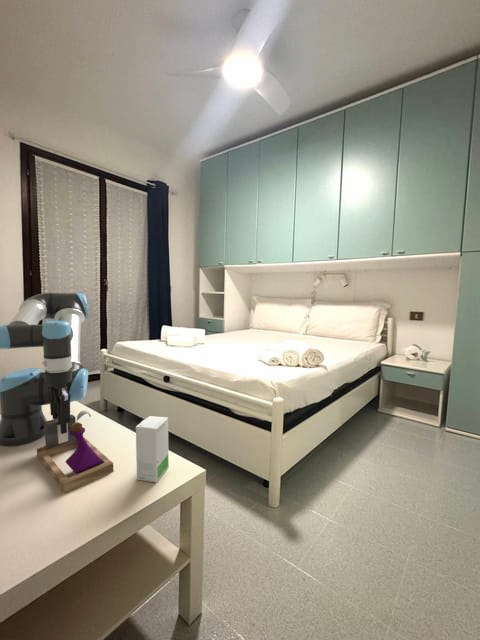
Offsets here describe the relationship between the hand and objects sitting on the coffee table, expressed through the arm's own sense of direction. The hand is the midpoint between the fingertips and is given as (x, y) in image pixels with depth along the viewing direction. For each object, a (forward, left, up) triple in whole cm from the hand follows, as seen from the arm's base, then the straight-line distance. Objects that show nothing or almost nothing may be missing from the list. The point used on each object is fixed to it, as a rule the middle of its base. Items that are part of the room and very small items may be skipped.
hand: (61, 439), depth 97 cm
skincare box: (+32, +14, -4) cm, 35 cm away
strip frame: (+11, 0, -4) cm, 12 cm away
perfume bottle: (+17, +1, -4) cm, 18 cm away
